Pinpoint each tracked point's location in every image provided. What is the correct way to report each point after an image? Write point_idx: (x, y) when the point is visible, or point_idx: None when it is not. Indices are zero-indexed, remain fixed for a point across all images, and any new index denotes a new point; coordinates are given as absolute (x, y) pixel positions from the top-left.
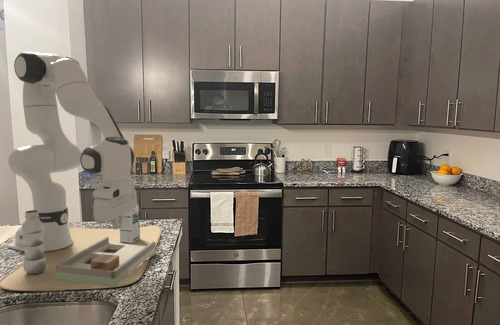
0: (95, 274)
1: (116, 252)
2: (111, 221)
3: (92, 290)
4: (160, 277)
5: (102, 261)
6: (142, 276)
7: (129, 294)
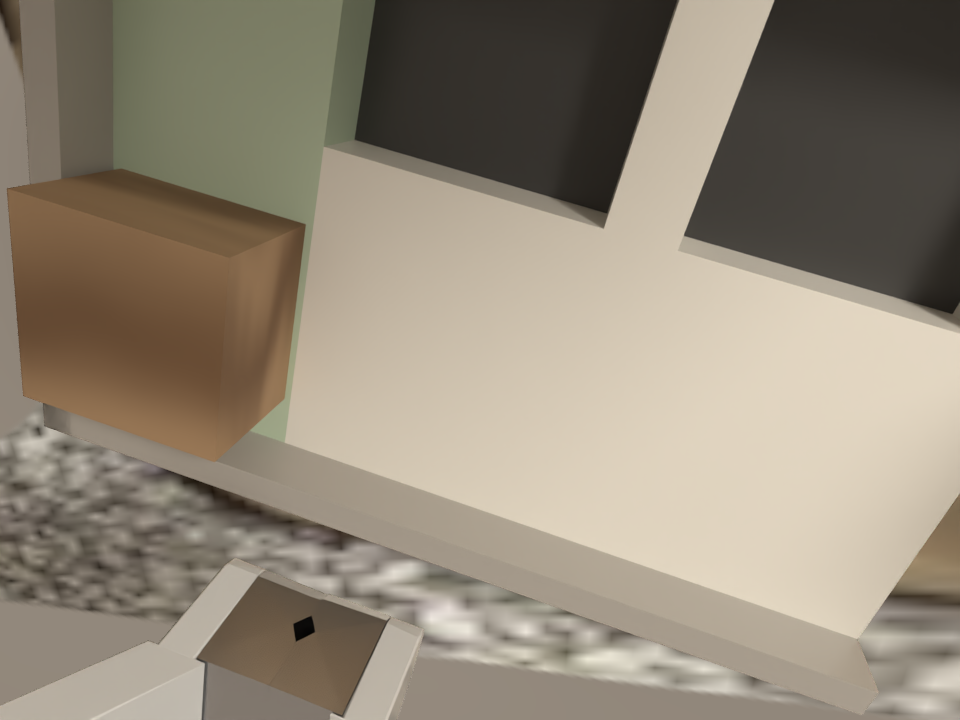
0: None
1: (711, 275)
2: (28, 704)
3: None
4: None
5: (40, 328)
6: (317, 530)
7: (70, 480)
